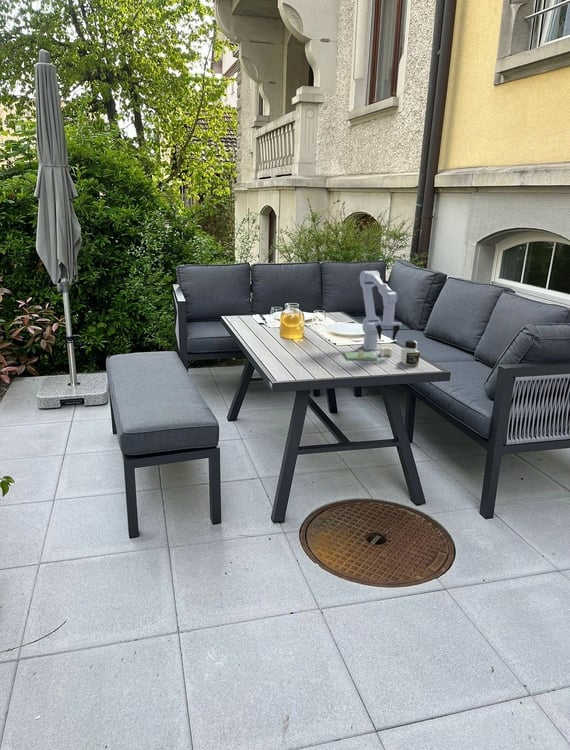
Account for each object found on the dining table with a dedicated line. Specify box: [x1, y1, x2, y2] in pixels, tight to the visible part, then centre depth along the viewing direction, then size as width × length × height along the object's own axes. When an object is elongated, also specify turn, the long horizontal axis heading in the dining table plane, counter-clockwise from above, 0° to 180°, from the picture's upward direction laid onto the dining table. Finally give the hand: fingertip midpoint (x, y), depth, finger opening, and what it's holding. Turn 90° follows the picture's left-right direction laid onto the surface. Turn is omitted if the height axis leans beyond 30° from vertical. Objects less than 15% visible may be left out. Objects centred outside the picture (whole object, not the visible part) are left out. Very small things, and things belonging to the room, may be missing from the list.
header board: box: [342, 349, 378, 361], centre depth 304 cm, size 12×16×4 cm
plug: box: [379, 346, 393, 358], centre depth 309 cm, size 5×6×4 cm
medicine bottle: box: [400, 339, 421, 366], centre depth 295 cm, size 7×7×12 cm
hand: (386, 339), depth 306 cm, fingers open, 7 cm apart
